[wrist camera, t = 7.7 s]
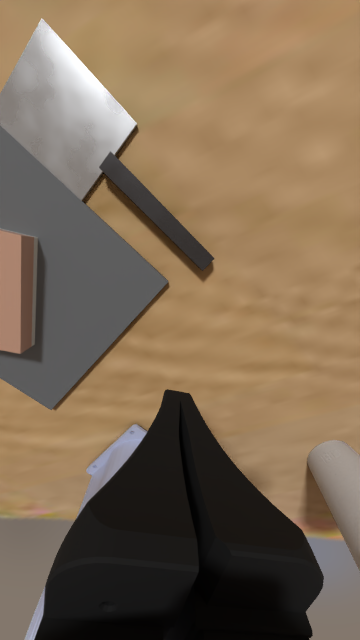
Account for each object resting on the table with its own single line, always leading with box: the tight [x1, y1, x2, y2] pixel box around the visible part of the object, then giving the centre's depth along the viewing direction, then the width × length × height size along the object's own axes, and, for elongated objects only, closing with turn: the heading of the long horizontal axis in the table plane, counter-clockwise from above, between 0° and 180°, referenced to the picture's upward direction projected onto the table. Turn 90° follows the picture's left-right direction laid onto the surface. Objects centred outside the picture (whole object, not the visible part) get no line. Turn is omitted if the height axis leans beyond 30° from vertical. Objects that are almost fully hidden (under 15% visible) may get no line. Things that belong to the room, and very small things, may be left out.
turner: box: [0, 19, 214, 271], centre depth 16 cm, size 19×7×1 cm, turn 47°
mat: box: [0, 126, 168, 410], centre depth 19 cm, size 19×18×1 cm
